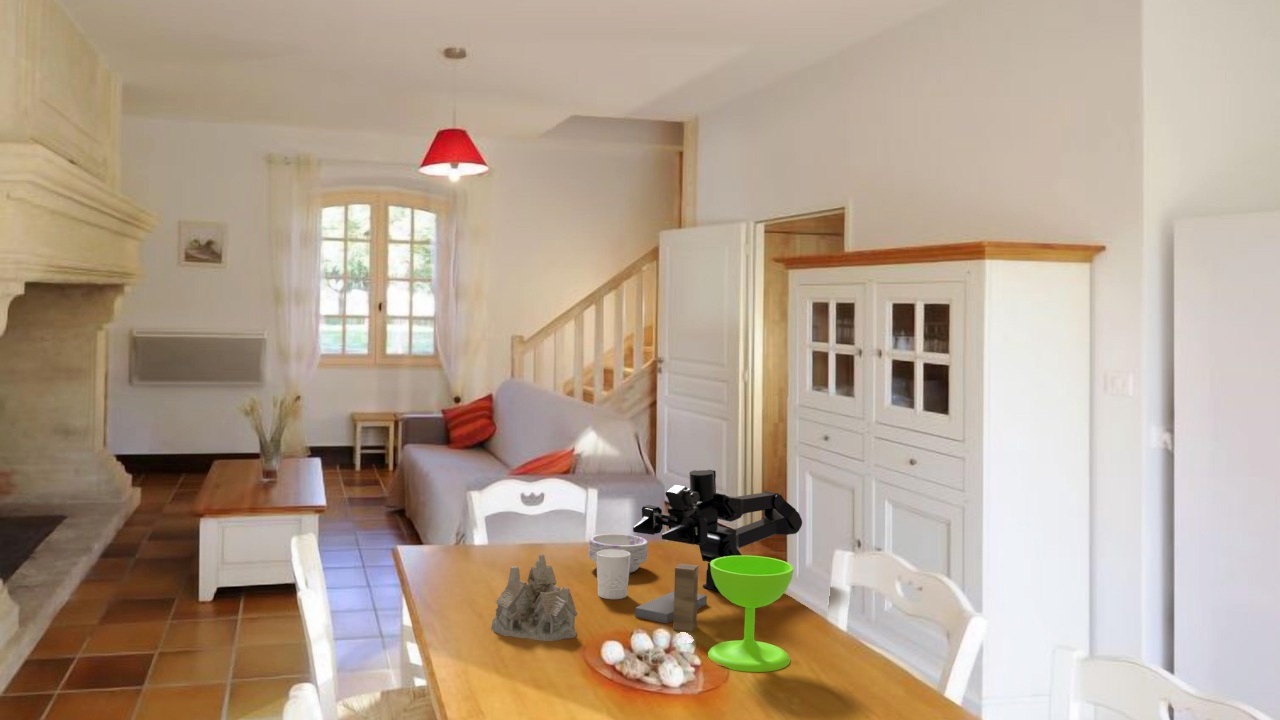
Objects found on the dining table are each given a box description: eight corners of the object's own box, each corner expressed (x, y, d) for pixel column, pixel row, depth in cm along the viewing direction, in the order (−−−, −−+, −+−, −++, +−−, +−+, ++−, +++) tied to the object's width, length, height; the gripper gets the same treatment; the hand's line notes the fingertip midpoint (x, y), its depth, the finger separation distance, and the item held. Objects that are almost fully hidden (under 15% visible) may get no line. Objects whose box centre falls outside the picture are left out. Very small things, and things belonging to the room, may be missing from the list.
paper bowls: (658, 568, 265) (659, 538, 265) (626, 580, 252) (627, 548, 252) (609, 559, 273) (610, 530, 273) (576, 570, 261) (577, 539, 260)
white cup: (625, 601, 233) (626, 558, 233) (591, 598, 235) (593, 555, 235) (632, 592, 241) (633, 550, 241) (600, 590, 243) (601, 548, 242)
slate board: (676, 598, 237) (676, 590, 237) (706, 604, 233) (706, 595, 233) (635, 616, 222) (635, 607, 222) (667, 623, 218) (667, 614, 218)
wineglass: (695, 663, 193) (698, 569, 192) (721, 639, 208) (724, 552, 207) (778, 677, 187) (781, 579, 186) (798, 651, 202) (802, 561, 201)
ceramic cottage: (485, 622, 214) (491, 552, 213) (559, 618, 221) (565, 550, 220) (505, 650, 200) (511, 575, 199) (584, 644, 207) (590, 572, 205)
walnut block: (678, 624, 217) (680, 563, 217) (696, 626, 216) (698, 565, 216) (673, 629, 214) (675, 567, 213) (691, 631, 212) (693, 569, 212)
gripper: (665, 478, 245) (617, 492, 235) (723, 489, 232) (675, 504, 221) (667, 523, 247) (620, 539, 236) (725, 536, 233) (678, 554, 223)
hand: (647, 533), depth 229 cm, fingers open, 9 cm apart
